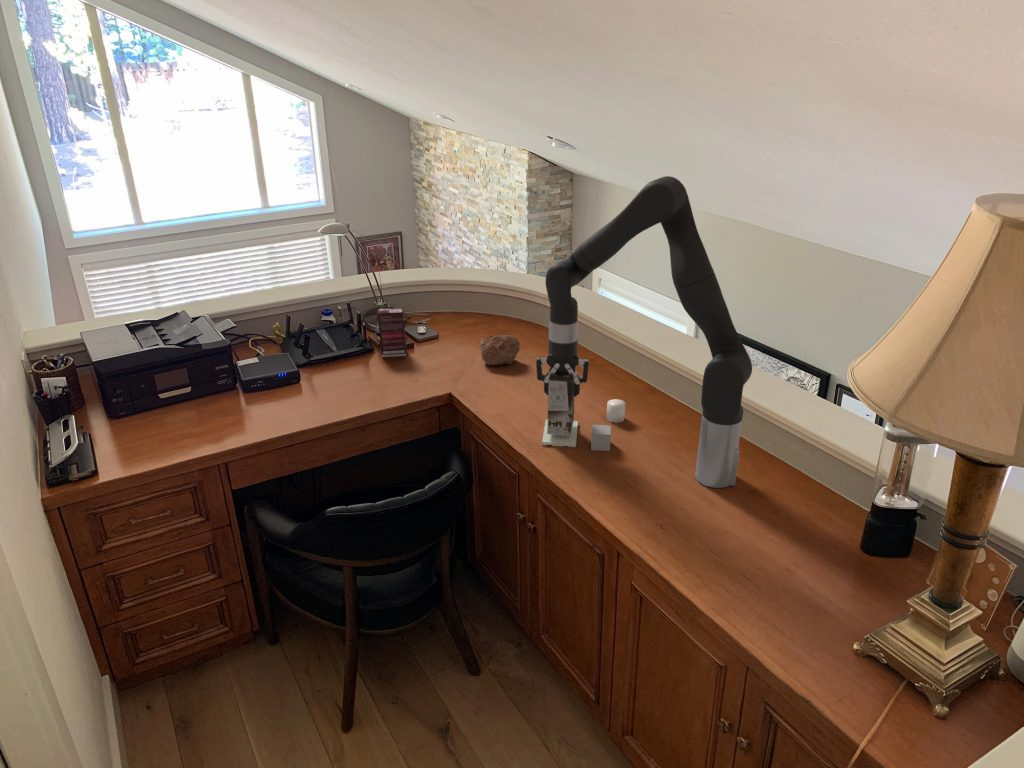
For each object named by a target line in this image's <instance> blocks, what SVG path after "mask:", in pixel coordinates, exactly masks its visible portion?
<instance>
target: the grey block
mask: <svg viewBox="0 0 1024 768" xmlns="http://www.w3.org/2000/svg"><path fill="white" fill-rule="evenodd" d="M590 437H591V439H590V451H597V452H598V451H600V452H601V451H602V452H611V438H612V426H611V425H607V424H606V425H603V424H591V435H590Z"/></svg>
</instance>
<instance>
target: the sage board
mask: <svg viewBox="0 0 1024 768" xmlns="http://www.w3.org/2000/svg"><path fill="white" fill-rule="evenodd" d="M544 422H545V423H544V429H543V435H542V441H541V445H542V446H546V445H552V447H563V446H568V447H567V448H576V447H577V438H578V437H577V436H578V428H577V427H579V425H578V424H579V421H578V420H574V422H573V426H572V429H571V433H570V436H561V435H552V434H547V425H548V418H546V419H545V421H544Z"/></svg>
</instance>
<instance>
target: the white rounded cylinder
mask: <svg viewBox="0 0 1024 768" xmlns="http://www.w3.org/2000/svg"><path fill="white" fill-rule="evenodd" d="M606 405H607V406H606V421H608V422H609V421H610V423H612V422H614V423H613V424H619V422H620V423H623V422H624V421H625V414H626V413H625V411H626V402H625V401H624V400H622V399H617V398H616V399H615V398H613V399H610V400H608V401H607V404H606ZM622 421H623V422H622Z"/></svg>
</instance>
